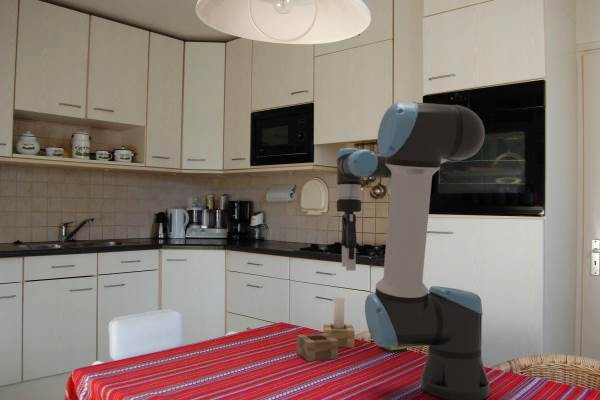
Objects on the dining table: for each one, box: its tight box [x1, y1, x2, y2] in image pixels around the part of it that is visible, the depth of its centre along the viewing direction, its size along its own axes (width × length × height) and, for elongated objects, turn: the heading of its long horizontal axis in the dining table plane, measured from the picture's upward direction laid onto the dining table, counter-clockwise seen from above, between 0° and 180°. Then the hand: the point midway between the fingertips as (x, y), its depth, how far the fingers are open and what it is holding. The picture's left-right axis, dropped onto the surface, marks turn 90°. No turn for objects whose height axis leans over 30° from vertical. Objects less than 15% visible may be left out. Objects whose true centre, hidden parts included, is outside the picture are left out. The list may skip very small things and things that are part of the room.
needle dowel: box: [333, 296, 345, 329], centre depth 157 cm, size 3×3×14 cm
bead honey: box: [322, 323, 355, 348], centre depth 157 cm, size 9×9×5 cm
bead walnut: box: [296, 332, 339, 362], centre depth 143 cm, size 9×9×5 cm
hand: (348, 268), depth 154 cm, fingers open, 13 cm apart
